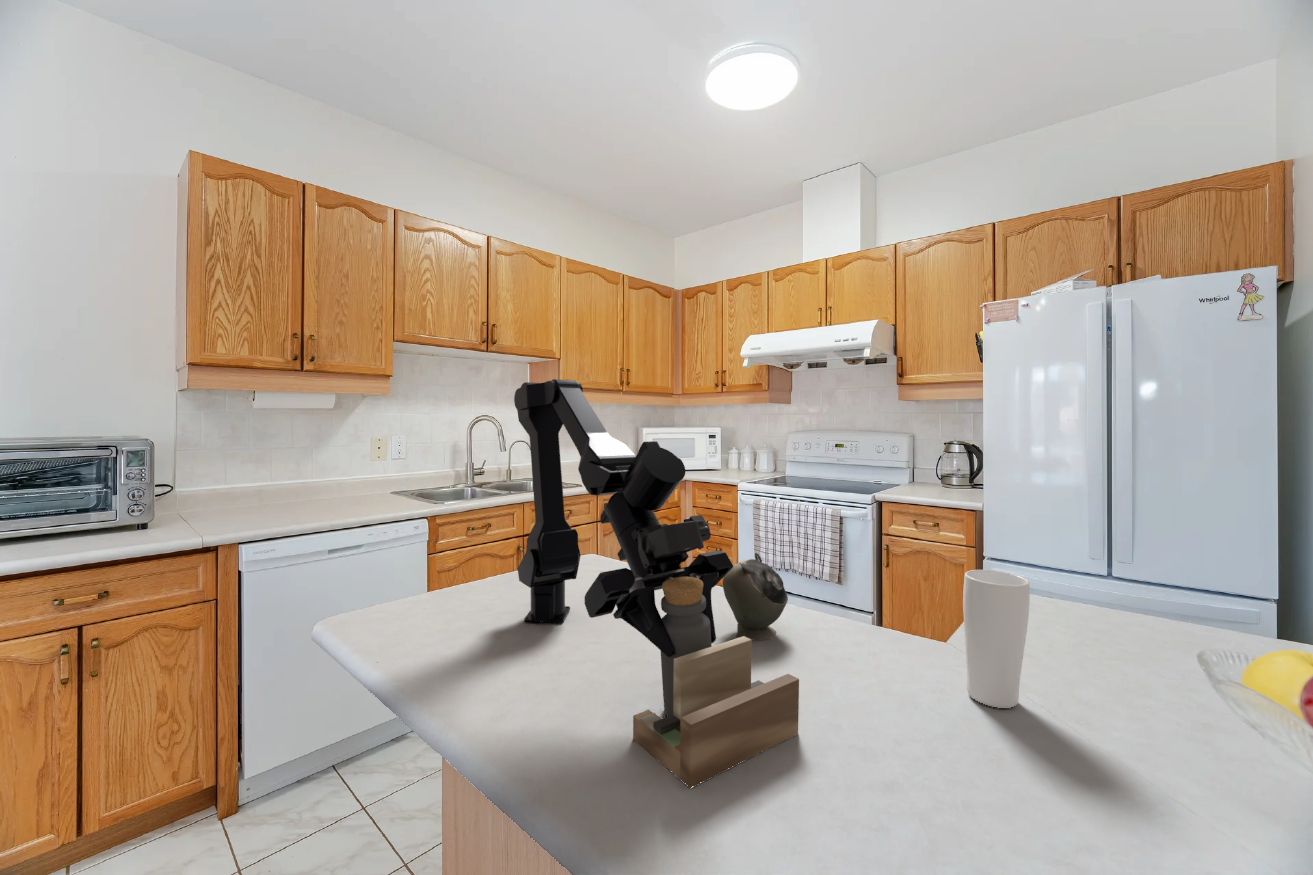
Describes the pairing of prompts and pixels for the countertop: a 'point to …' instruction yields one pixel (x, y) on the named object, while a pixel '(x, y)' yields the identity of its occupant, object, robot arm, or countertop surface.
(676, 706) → the wooden flat panel
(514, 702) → the countertop surface
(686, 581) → the bottle
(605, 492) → the robot arm
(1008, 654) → the drinking glass
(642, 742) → the wooden rack
